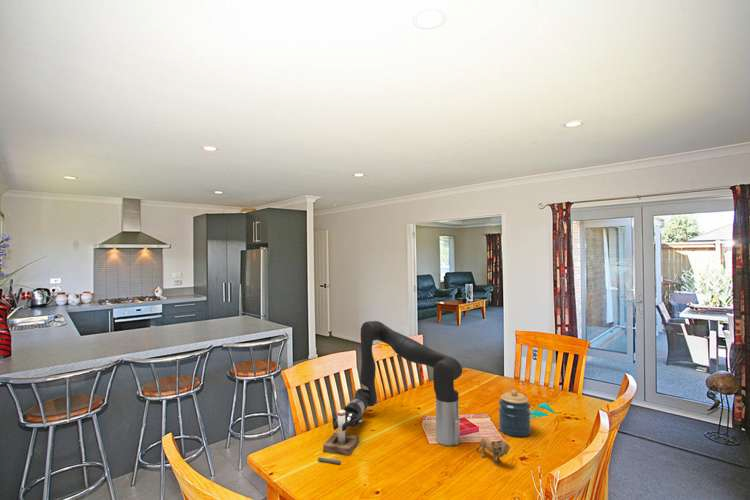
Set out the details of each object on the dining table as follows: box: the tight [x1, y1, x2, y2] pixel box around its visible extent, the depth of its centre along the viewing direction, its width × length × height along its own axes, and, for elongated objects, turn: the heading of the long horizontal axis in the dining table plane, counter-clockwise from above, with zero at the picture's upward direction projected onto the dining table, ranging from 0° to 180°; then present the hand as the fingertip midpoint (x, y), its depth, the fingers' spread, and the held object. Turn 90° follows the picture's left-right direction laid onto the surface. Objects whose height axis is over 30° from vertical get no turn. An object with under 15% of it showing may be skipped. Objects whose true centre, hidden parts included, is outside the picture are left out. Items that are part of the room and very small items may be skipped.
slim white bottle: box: [337, 409, 346, 445], centre depth 153 cm, size 3×3×13 cm
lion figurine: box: [475, 436, 511, 466], centre depth 143 cm, size 15×5×9 cm, turn 36°
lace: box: [317, 456, 342, 465], centre depth 141 cm, size 9×1×1 cm, turn 73°
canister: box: [498, 389, 532, 438], centre depth 166 cm, size 13×13×18 cm
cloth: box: [529, 401, 555, 419], centre depth 187 cm, size 26×14×2 cm, turn 123°
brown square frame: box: [322, 432, 360, 456], centre depth 153 cm, size 11×11×2 cm
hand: (338, 427), depth 150 cm, fingers closed on slim white bottle, 3 cm apart
